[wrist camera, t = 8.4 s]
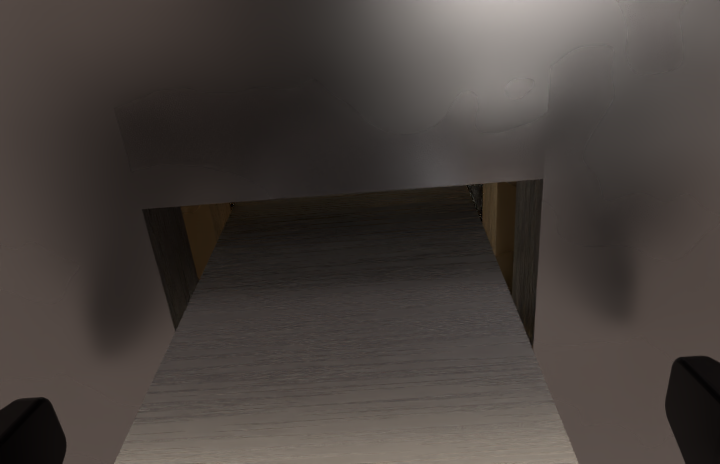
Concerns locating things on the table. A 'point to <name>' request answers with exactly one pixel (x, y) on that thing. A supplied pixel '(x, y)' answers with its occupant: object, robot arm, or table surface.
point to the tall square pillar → (350, 343)
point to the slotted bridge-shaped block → (361, 179)
